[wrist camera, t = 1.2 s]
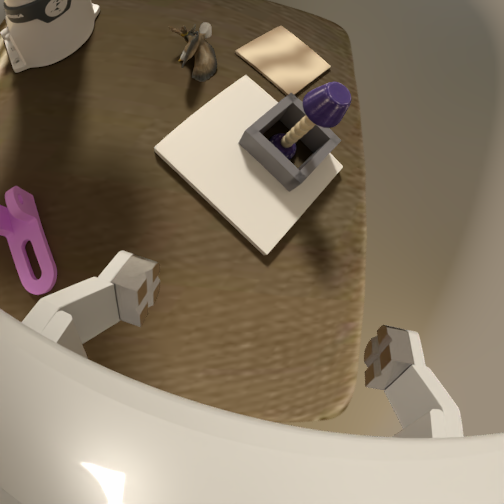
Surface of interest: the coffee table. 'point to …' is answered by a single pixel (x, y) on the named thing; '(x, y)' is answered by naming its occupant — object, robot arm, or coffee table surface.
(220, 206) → the socket board
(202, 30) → the eagle figurine
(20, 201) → the bracket
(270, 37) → the birch pad
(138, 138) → the coffee table surface
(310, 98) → the toy lamp
